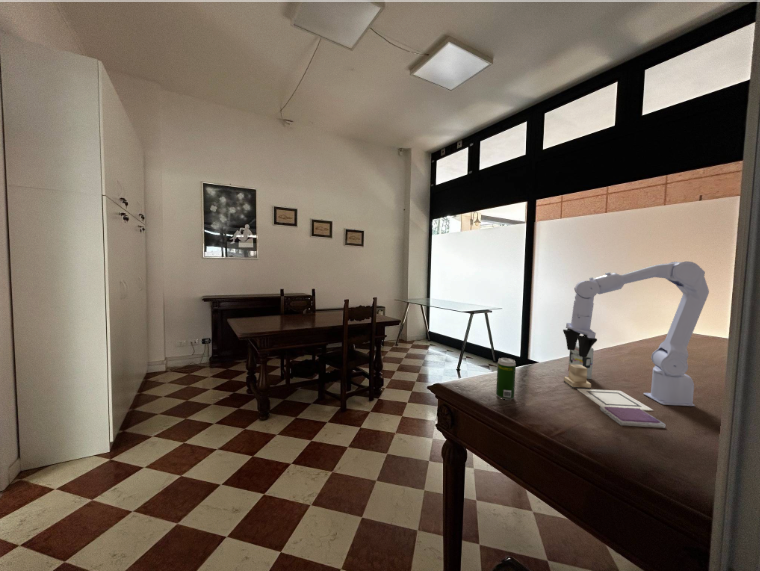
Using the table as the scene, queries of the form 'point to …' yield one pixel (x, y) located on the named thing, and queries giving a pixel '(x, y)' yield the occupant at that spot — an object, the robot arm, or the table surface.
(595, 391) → the paper sheet
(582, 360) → the ink box
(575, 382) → the wooden stamp
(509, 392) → the green canister
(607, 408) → the ink pad
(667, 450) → the table surface
